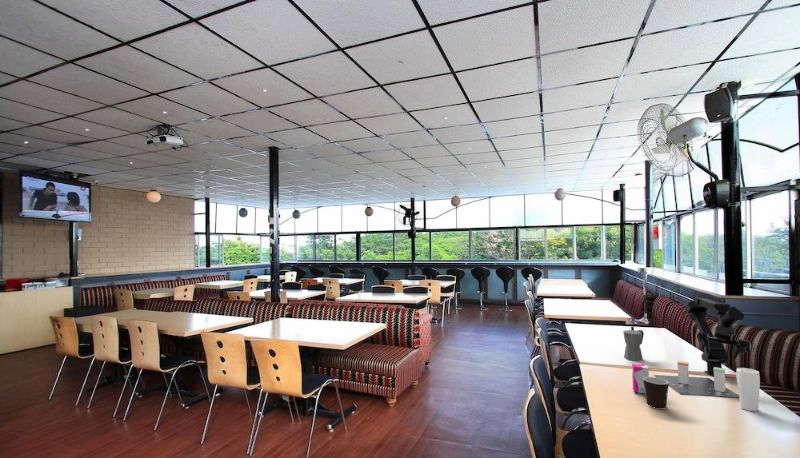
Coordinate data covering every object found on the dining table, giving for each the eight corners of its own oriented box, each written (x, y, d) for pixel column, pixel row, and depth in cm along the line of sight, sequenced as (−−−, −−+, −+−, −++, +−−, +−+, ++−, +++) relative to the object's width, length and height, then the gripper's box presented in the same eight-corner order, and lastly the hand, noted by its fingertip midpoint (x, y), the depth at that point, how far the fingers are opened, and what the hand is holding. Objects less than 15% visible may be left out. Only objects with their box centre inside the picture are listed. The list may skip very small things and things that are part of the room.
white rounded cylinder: (765, 413, 147) (763, 373, 148) (745, 412, 149) (743, 372, 149) (753, 406, 154) (751, 368, 155) (733, 405, 155) (732, 367, 156)
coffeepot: (633, 362, 212) (632, 329, 213) (617, 358, 220) (616, 326, 221) (652, 359, 218) (651, 327, 219) (636, 355, 226) (635, 324, 227)
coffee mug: (661, 412, 149) (660, 385, 149) (639, 403, 157) (638, 378, 157) (678, 406, 154) (677, 380, 155) (655, 398, 162) (655, 374, 162)
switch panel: (654, 375, 190) (654, 374, 190) (708, 378, 186) (708, 377, 186) (680, 394, 166) (680, 393, 166) (743, 398, 162) (743, 397, 162)
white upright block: (715, 388, 172) (714, 367, 172) (726, 390, 169) (725, 368, 169) (714, 390, 169) (713, 368, 170) (725, 392, 167) (724, 370, 167)
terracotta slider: (679, 380, 181) (678, 360, 181) (689, 382, 178) (688, 362, 179) (678, 382, 179) (677, 362, 179) (687, 384, 176) (687, 364, 177)
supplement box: (647, 390, 171) (646, 364, 171) (649, 395, 165) (649, 368, 166) (632, 388, 173) (631, 362, 174) (634, 393, 168) (633, 366, 168)
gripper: (697, 315, 184) (692, 345, 177) (750, 323, 170) (747, 355, 164) (700, 327, 190) (696, 356, 183) (752, 335, 176) (749, 367, 170)
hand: (720, 358), depth 175 cm, fingers open, 9 cm apart
